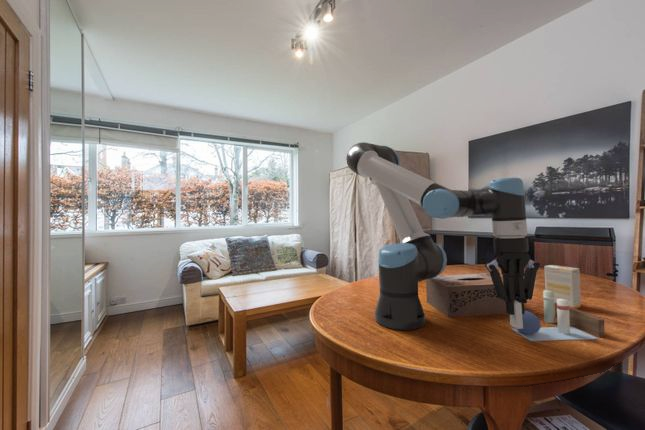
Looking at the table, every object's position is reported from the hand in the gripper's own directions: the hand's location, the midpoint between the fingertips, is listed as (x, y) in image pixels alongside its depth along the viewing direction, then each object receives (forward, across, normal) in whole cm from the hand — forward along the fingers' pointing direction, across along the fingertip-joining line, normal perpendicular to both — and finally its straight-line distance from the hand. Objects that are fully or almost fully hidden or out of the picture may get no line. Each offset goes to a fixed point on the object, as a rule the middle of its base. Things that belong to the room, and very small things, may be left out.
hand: (516, 326), depth 70 cm
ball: (0, +4, +2) cm, 5 cm away
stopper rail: (+3, +21, +6) cm, 22 cm away
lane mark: (+3, +10, +2) cm, 11 cm away
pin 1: (+3, +16, +10) cm, 18 cm away
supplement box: (+3, +31, +24) cm, 39 cm away
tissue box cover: (+3, 0, +23) cm, 23 cm away
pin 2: (+3, +13, +2) cm, 14 cm away
